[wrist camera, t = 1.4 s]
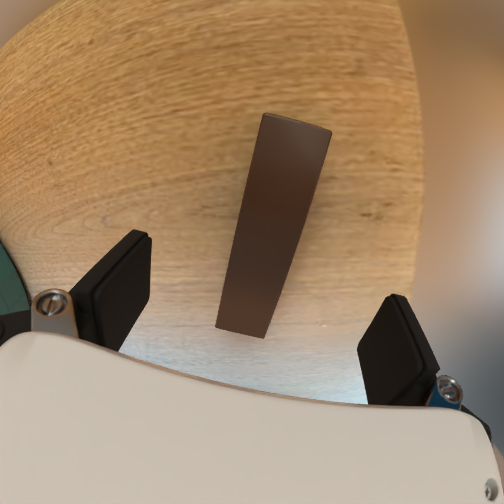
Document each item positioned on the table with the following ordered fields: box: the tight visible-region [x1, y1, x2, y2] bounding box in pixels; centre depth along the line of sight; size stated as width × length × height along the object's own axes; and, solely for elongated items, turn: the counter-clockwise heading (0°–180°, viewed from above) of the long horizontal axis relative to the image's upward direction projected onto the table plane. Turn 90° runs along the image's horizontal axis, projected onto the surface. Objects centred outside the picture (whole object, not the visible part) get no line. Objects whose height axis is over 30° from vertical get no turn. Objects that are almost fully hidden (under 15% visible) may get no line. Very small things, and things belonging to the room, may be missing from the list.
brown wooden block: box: [215, 113, 332, 339], centre depth 15 cm, size 12×3×4 cm, turn 167°
